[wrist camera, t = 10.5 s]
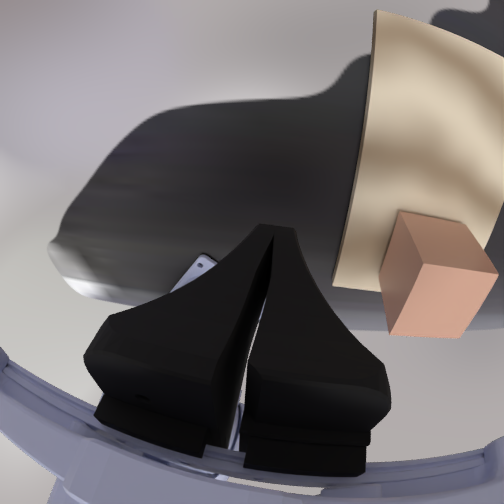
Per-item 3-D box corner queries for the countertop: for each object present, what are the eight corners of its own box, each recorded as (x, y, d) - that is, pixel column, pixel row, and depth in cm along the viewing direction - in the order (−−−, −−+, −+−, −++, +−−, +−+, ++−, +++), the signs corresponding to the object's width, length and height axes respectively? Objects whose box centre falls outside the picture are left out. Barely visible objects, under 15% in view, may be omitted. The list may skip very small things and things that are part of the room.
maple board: (454, 292, 22) (457, 300, 21) (332, 277, 24) (332, 285, 23) (523, 72, 10) (531, 74, 9) (373, 12, 12) (377, 9, 11)
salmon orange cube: (439, 284, 20) (459, 338, 16) (378, 277, 21) (389, 334, 16) (465, 224, 17) (498, 274, 12) (399, 211, 18) (423, 263, 13)
